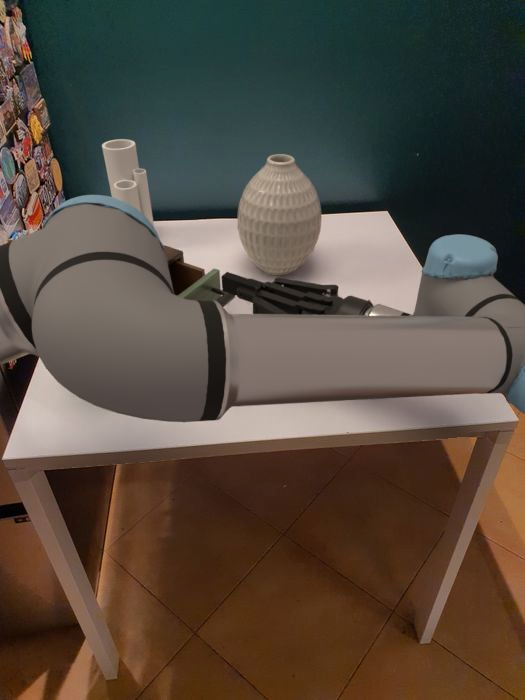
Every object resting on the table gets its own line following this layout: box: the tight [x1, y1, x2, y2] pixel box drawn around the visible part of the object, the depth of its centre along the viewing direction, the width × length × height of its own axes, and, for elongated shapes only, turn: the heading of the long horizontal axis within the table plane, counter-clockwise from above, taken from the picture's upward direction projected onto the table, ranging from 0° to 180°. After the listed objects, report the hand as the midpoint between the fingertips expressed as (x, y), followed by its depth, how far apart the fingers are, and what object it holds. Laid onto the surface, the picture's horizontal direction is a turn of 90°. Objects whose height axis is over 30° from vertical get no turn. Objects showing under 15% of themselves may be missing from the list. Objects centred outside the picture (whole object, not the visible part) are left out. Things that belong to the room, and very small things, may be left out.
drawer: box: [168, 260, 236, 308], centre depth 88 cm, size 17×11×8 cm, turn 59°
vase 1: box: [101, 138, 155, 228], centre depth 110 cm, size 11×7×20 cm, turn 27°
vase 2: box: [236, 153, 323, 276], centre depth 99 cm, size 16×16×22 cm
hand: (224, 281), depth 81 cm, fingers closed
